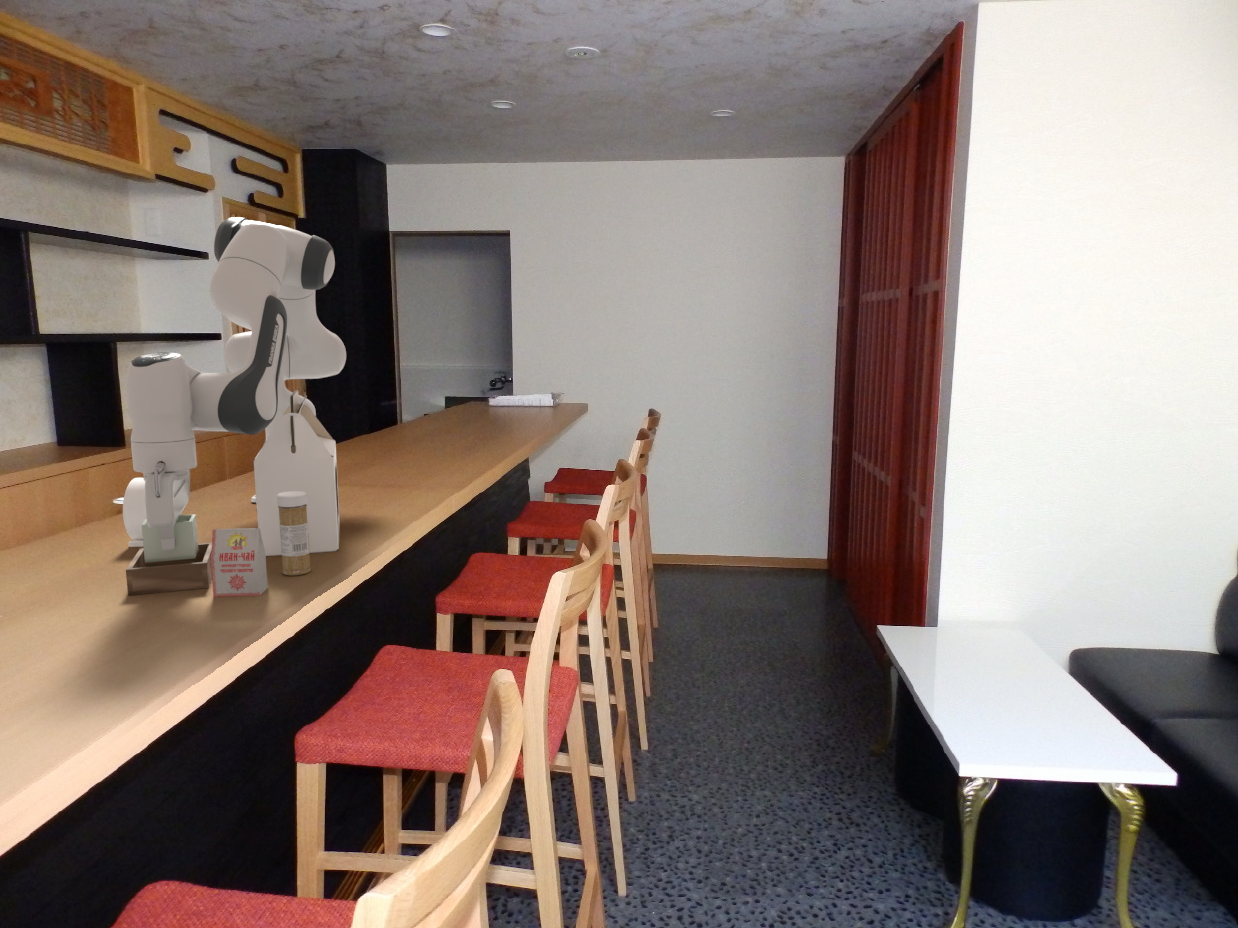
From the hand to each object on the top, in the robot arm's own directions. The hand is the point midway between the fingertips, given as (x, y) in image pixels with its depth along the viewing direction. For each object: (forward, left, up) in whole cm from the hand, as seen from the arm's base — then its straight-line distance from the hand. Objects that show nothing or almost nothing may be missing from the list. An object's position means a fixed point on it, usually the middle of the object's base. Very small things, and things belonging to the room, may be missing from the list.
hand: (172, 543), depth 133 cm
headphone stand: (-27, -8, -6) cm, 28 cm away
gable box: (-20, +19, -6) cm, 29 cm away
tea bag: (+10, +10, -6) cm, 16 cm away
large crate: (0, 0, -6) cm, 6 cm away
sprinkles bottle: (+2, +18, -6) cm, 19 cm away
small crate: (0, 0, -2) cm, 2 cm away
